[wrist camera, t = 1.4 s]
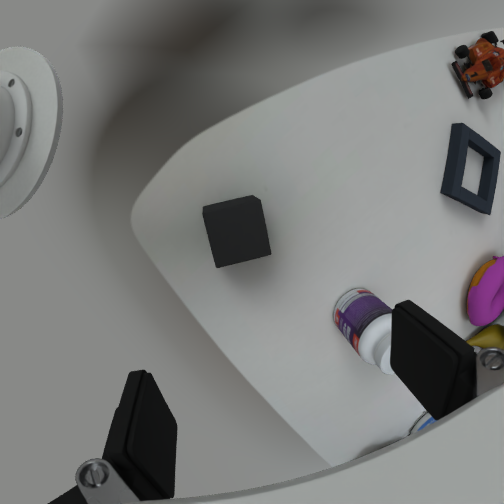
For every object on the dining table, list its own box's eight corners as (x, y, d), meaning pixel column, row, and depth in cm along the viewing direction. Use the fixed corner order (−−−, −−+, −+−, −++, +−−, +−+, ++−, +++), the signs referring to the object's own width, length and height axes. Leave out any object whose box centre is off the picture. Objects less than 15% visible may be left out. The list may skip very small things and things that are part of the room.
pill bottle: (322, 312, 31) (362, 364, 22) (359, 277, 31) (410, 317, 22) (348, 338, 33) (389, 389, 24) (382, 306, 33) (430, 349, 23)
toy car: (441, 54, 25) (464, 46, 21) (487, 31, 25) (505, 25, 20) (471, 108, 27) (495, 105, 23) (510, 74, 27) (529, 71, 22)
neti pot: (521, 317, 36) (504, 341, 39) (465, 320, 37) (448, 346, 41) (530, 335, 32) (511, 359, 36) (474, 342, 33) (454, 367, 37)
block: (214, 254, 28) (216, 268, 24) (202, 206, 27) (202, 212, 23) (263, 243, 28) (271, 254, 25) (252, 194, 27) (260, 199, 23)
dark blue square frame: (440, 192, 30) (451, 195, 28) (451, 123, 28) (462, 122, 26) (480, 212, 32) (490, 215, 30) (490, 151, 30) (500, 151, 28)
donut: (458, 328, 36) (477, 342, 32) (460, 267, 33) (483, 278, 29) (497, 300, 37) (515, 311, 32) (501, 243, 34) (522, 251, 29)
